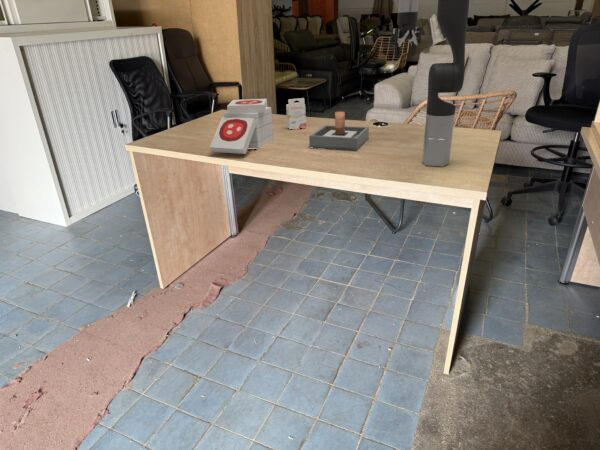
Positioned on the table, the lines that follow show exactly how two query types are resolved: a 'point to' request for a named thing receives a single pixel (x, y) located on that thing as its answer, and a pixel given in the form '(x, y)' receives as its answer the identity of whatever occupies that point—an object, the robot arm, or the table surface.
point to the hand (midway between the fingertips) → (405, 56)
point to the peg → (340, 123)
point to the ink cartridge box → (296, 113)
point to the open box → (339, 138)
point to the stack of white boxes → (244, 127)
